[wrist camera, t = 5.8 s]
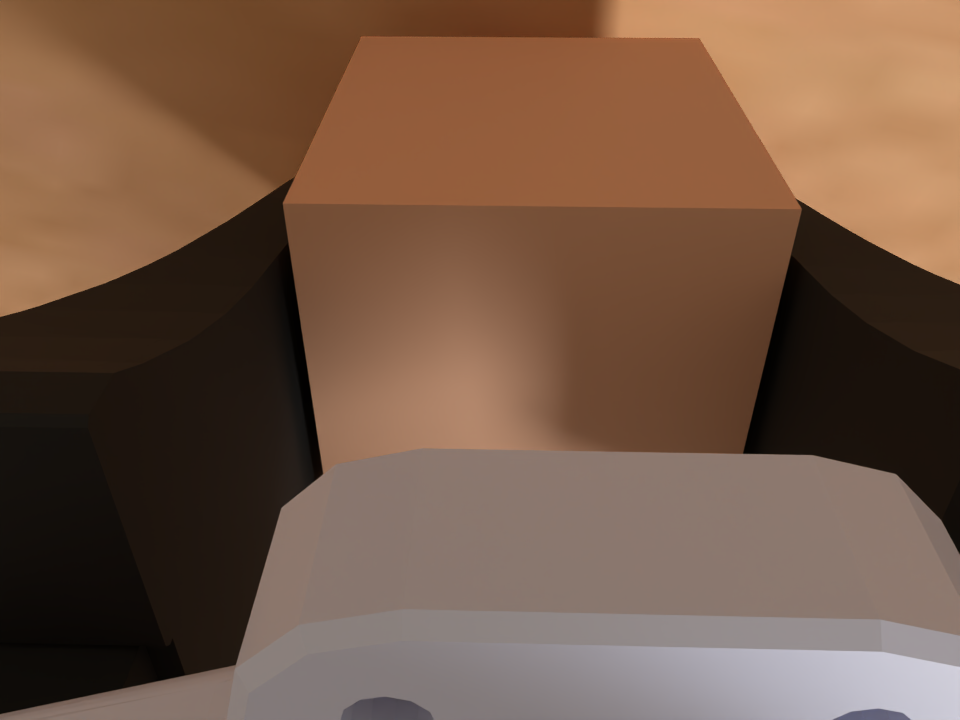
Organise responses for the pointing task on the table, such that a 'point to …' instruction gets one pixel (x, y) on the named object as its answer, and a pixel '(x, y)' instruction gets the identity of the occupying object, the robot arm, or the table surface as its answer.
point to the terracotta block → (536, 249)
